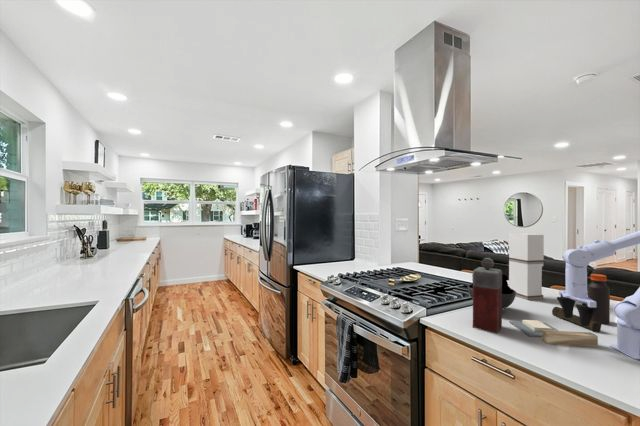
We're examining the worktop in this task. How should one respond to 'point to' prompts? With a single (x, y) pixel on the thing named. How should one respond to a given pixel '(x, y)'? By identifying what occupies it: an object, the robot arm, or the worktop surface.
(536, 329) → the tile
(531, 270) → the banded white pillar
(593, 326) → the brown wooden log
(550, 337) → the tan wooden plank
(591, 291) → the bottle
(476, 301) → the pepper grinder
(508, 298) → the bowl of black rocks
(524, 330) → the mat
